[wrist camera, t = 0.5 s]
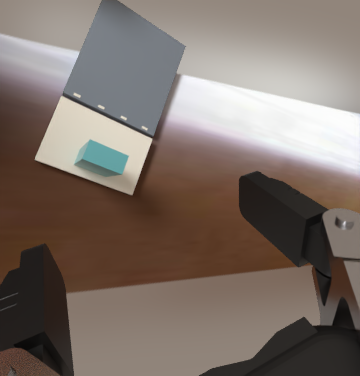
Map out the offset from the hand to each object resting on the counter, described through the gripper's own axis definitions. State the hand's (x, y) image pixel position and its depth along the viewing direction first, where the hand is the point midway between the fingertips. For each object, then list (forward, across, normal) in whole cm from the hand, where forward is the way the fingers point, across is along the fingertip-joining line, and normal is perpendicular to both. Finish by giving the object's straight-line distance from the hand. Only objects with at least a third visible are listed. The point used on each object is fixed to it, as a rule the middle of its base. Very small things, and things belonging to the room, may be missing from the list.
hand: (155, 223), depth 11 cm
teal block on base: (+26, 0, +6) cm, 27 cm away
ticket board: (+31, -7, -1) cm, 32 cm away
